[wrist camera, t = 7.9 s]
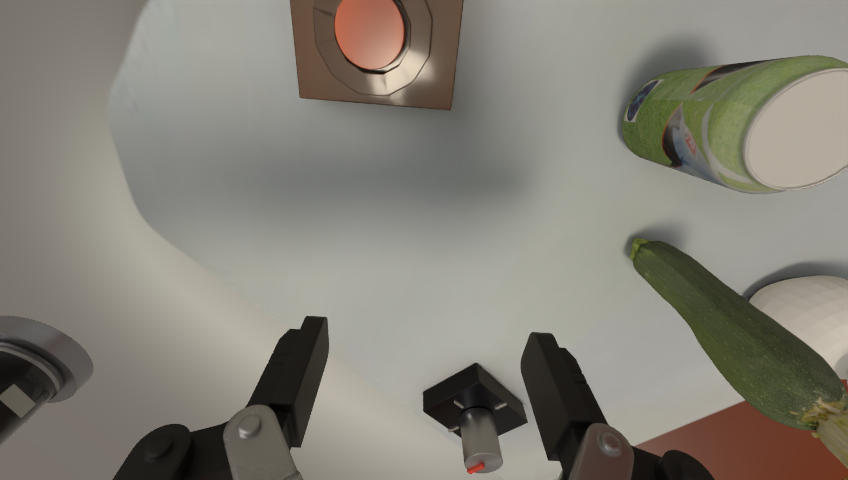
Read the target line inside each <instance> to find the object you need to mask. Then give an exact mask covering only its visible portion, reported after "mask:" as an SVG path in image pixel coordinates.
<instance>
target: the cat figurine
mask: <svg viewBox="0 0 848 480" xmlns="http://www.w3.org/2000/svg"><path fill="white" fill-rule="evenodd" d="M749 303H750V304H752V305H753V306H755V307H756V308H757V309H759V310H760V311H762V312H764V313H765V314H767V315H768V316H769V317H771V318H772V319H774V320H775V321H776V322H778V323H779V324H780V325H782V326H783V327H784V328H786V329H787V330H788V331H790V332H791V333H792V334H794V335H795V336H797V337H798V338H799V339H801V340H802V341H803V342H805V343H806V344H807V345H808V346H810V347H811V348H812V349H813V350H815V351H816V352H817V353H818V354H819V355H820V356H822V357H823V358H824V359H825V361H826V362H827V363H828V364H829V365H830V366H831V368H832V369H833V370H834V371H835V372H836V374H837V375H838V377H839V379H847V383H848V280H846V279H843V278H840V277H834V276H826V275H820V276H808V277H800V278H793V279H788V280H783V281H779V282H776V283H773V284H770V285H767V286H765V287H763V288H761V289H760V290H758V291H757V292H756V293H755V294H754V295H753V296H752V297H751V299H750V301H749Z"/></svg>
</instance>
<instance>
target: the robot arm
mask: <svg viewBox="0 0 848 480" xmlns="http://www.w3.org/2000/svg"><path fill="white" fill-rule="evenodd" d="M328 352H329V337H328V321H327V317H317V316H306V317H305V319H304V321H303V324H302V326H301V328H300V330H299V329H290V330H289V331H287V332H286V334H284V335H283V336H282V337H281V338H280V339H279V341H278V343H277V345H276V347H275V349H274V352H273V354H272V355H271V357H270V360H269V363H268V364H267V366H266V368H265V370H264V372H263V374H262V376H261V378H260V380H259V382H258V384H257V386H256V388H255V390H254V392H253V394H252V397H251V398H250V401H249V402H248V404H247V406H246V407H245V408H244V409H242V410H241V411H239V412H238V413H236V414H235V415H234V416H233V417H232V418H231V419H230V420H229V421H227V422H225V423H223V424H221V425H217V426H213V427H209V428H205V429H202V430H197V431H193V432H190V431H189V429H188V428H187V427H185V426H184V425H181V424H169V425H165V426H162V427H159V428H157V429H155V430H154V431H152V432H150V433H149V434H147V435H146V436H145V437H143V438H142V439H141V440H140V441H139V442H138V443H137V444H136V445H135V447H134V448H133V449H132V451H131V452H130V454H129V455H128V457H127V458H126V460H125V461H124V463H123V465H122V466H121V468H120V469H119V471H118V472H117V474H116V475H115V477H114V478H113V480H303V478H302V476H301V474H300V472H298V470H297V469H296V466H295V464H294V461H293V459H292V456H291V453H290V449H291V447H301V444H302V441H303V438H304V435H305V431H306V428H307V425H308V421H309V418H310V415H311V411H312V408H313V405H314V402H315V398H316V395H317V392H318V388H319V385H320V382H321V378H322V375H323V372H324V368H325V365H326V362H327V358H328ZM521 373H522V377H523V380H524V383H525V386H526V390H527V393H528V396H529V399H530V403H531V406H532V409H533V412H534V416H535V419H536V422H537V425H538V429H539V432H540V435H541V438H542V442H543V445H544V448H545V451H546V455H547V458H548V460H550V461H560V463H561V466H562V469H563V470H562V472H561V474H560V476H559V479H558V480H714V478H713V477H712V475H711V474H710V473H709V471H708V470H707V469H706V468H705V467H704V466H703V465H702V464H701V463H700V462H699V461H697V460H696V459H695V458H693V457H692V456H690V455H688V454H686V453H684V452H681V451H677V450H670V451H667V452H666V453H665V454H664V455H663V456H662V457H660V456H657V455H654V454H652V453H649V452H646V451H644V450H641V449H638V448H636V447H633V446H631V445H630V443H629V442H628V440H627V439H626V438H625V437H624V436H623V435H622V434H621V433H620V432H619V431H618V430H616V429H615V428H613V427H611V426H609V425H608V423H607V421H606V419H605V417H604V415H603V413H602V411H601V409H600V407H599V405H598V403H597V401H596V399H595V397H594V395H593V393H592V391H591V389H590V387H589V385H588V384H587V381H586V379H585V377H584V375H583V374H582V371H581V369H580V367H579V365H578V363H577V361H576V359H575V358H574V357H573V356H572V355H571V354H570V353H569V352H568V350H567V349H566V348H559V346H558V344H557V342H556V340H555V338H554V336H553V335H552V334H551V333H538V332H532V333H531V334H530V336H529V338H528V341H527V344H526V347H525V349H524V352H523V355H522V358H521ZM63 385H64V381H63V377H62V375H61V374H60V372H59V371H58V370H57V369H56V367H55V366H53V365H52V364H51V363H50V362H49V361H47V360H46V359H45V358H43V357H41V356H40V355H38V354H36V353H34V352H32V351H30V350H28V349H26V348H23V347H20V346H17V345H14V344H11V343H6V342H1V341H0V446H1V445H2V444H3V443H4V442H5V441H6V440H7V439H9V438H10V437H11V436H12V435H13V434H14V433H15V432H16V431H17V430H18V429H19V428H20V427H21V426H22V425H23V424H24V423H26V422H27V421H28V420H29V419H30V418H31V417H32V416H33V415H34V414H35V413H36V412H37V411H38V410H39V409H40V408H41V407H43V405H45V404H46V403H47V402H48V401H49V400H51V399H52V398H53V397H54V396H56V395H57V394H58V393H59V392H60V391H61V390H62V388H63Z"/></svg>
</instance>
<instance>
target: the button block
mask: <svg viewBox="0 0 848 480" xmlns="http://www.w3.org/2000/svg"><path fill="white" fill-rule="evenodd" d="M341 1H342V0H290V6H291V15H292V25H293V35H294V45H295V55H296V65H297V75H298V85H299V94H300V98H306V99H319V100H331V101H343V102H355V103H367V104H380V105H392V106H404V107H416V108H428V109H441V110H451V107H452V98H453V89H454V80H455V71H456V63H457V54H458V45H459V36H460V27H461V18H462V9H463V0H393V1H394V3H395V4H396V5H397V7H398V9H399V11H400V13H401V15H402V17H403V20H404V24H405V30H406V36H405V43H404V46H403V49H402V51H401V53H400V55H399V56H398V58H397V59H396V60H395V61H394V62H393V63H391V64H390V65H388V66H386V67H384V68H381V69H376V70H369V69H364V68H361V67H359V66H357V65H355V64H353V63H352V62H351V61H350V60H349V59H348V58H347V57H346V56H345V55H344V53H343V52H342V50H341V49H340V47H339V44H338V42H337V39H336V34H335V16H336V12H337V9H338V7H339V5H340V3H341Z"/></svg>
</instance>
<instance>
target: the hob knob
mask: <svg viewBox="0 0 848 480" xmlns="http://www.w3.org/2000/svg"><path fill="white" fill-rule="evenodd" d="M460 427H461V436H462V446H463V455H464V464H465V467H466V468H467V472H468V473H469V474H472V473H474V472H475V473H489V472H493V471H495V470H497V469H499V468H500V467H501V466H502V463H503V460H502V455H501V450H500V445H499V440H498V435H497V430H496V425H495V420H494V415H493V413H492V412H491V411H490V410H488V409H485V408H471V409H468V410H466V411H464V412H463V413H462V414H461V416H460Z"/></svg>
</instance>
